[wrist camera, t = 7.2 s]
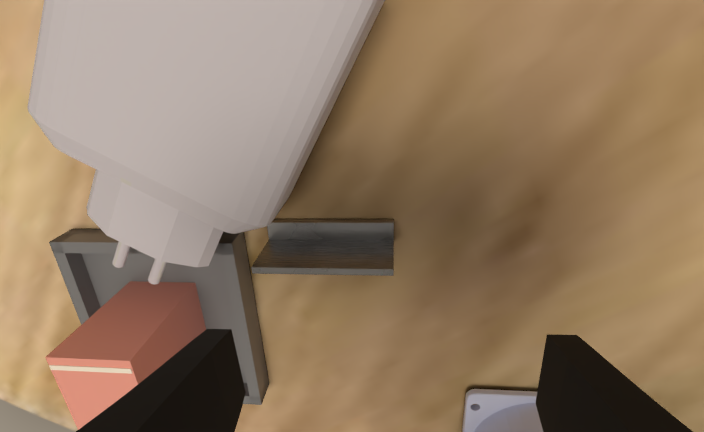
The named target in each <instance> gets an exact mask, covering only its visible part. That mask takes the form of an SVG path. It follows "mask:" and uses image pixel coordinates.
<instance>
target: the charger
mask: <svg viewBox="0 0 704 432" xmlns="http://www.w3.org/2000/svg"><path fill="white" fill-rule="evenodd" d="M384 1H385V0H44V6H43V12H42V19H41V25H40V32H39V38H38V44H37V51H36V57H35V64H34V70H33V76H32V83H31V89H30V96H29V102H28V111H29V113H30V114H31V116H32V117H33V118H34V120H35V121H36V123H37V124H38V125H39V127H40V128H41V129H42V131H43V132H44V134H45V135H46V136H47V138H48V139H49V140H50V142H51V143H52V145H53V146H54V147H55V148H57V149H58V150H59V151H61V152H63V153H65V154H66V155H68V156H70V157H72V158H74V159H76V160H78V161H80V162H82V163H84V164H87V165H89V166H91V167H93V168H95V169H96V172H95V176H94V180H93V184H92V188H91V192H90V196H89V200H88V204H87V215H88V216H89V217H90V218H91V219H92V220H93V221H94V222H95V223H96V224H97V226H98V227H99V228H100V229H101V230H102V231H103V232H104V233H105V234H106V235H107V236H109V237H111V238H113V239H115V240H117V241H119V242H118V245H117V248H116V252H115V255H114V259H113V262H112V264H113V265H114V266H115V267H117V268H122V267H124V266H125V263H126V260H127V256H128V253H129V250H130V247H132V248H134V249H136V250H138V251H140V252H142V253H144V254H146V255H148V256H151V257H153V258H155V260H154V263H153V266H152V269H151V271H150V274H149V277H148V281H149V283H151V284H154V285H155V284H159V282H160V280H161V277H162V274H163V272H164V269H165V266H166V264H167V262H168V263H174V264H180V265H186V266H192V267H205V266H209V264H210V262H211V259H212V257H213V254H214V252H215V250H216V247H217V245H218V243H219V240H220V238H221V236H222V233H223V231H224V232H227V233H231V234H236V233H241V232H245V231H249V230H254V229H258V228H262V227H266V226H268V225H270V224H271V222H272V221H273V219H274V218H275V217H276V215H277V214H278V212H279V211H280V209H281V208H282V207H283V205H284V204H285V202H286V201H287V199H288V198H289V196H290V194H291V192H292V190H293V188H294V186H295V184H296V182H297V180H298V178H299V176H300V174H301V172H302V169H303V167H304V165H305V163H306V161H307V159H308V157H309V155H310V153H311V151H312V149H313V147H314V145H315V143H316V141H317V139H318V137H319V135H320V132H321V130H322V128H323V126H324V124H325V122H326V120H327V118H328V116H329V114H330V112H331V110H332V108H333V106H334V104H335V102H336V100H337V98H338V96H339V93H340V91H341V89H342V87H343V85H344V83H345V81H346V79H347V77H348V75H349V73H350V71H351V69H352V67H353V65H354V63H355V61H356V59H357V56H358V54H359V52H360V50H361V48H362V46H363V44H364V42H365V40H366V38H367V36H368V34H369V32H370V30H371V28H372V26H373V24H374V22H375V20H376V17H377V15H378V13H379V11H380V9H381V7H382V5H383V3H384Z"/></svg>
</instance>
